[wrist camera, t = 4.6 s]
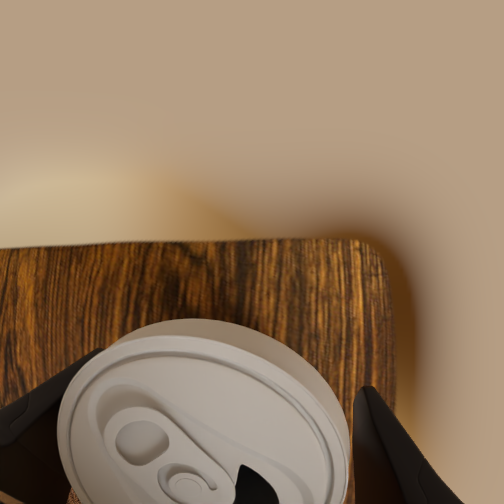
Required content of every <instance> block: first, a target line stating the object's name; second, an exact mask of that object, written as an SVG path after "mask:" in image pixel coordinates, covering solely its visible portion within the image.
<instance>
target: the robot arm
mask: <svg viewBox="0 0 504 504" xmlns="http://www.w3.org/2000/svg"><path fill="white" fill-rule="evenodd" d="M104 350H106V349H102V348H96V349H95V350H93V351H92V352H90V353H89V354H87V355H85V356H84V357H82V358H81V359H79V360H78V361H76V362H75V363H73V364H72V365H70V366H69V367H67V368H65V369H64V370H62V371H61V372H59V373H58V374H56V375H55V376H53V377H52V378H50V379H49V380H47V381H46V382H44V383H42V384H41V385H39V386H38V387H36V388H35V389H33V390H32V391H30V393H27V394H26V395H24V396H22V397H21V398H19V399H18V400H16V401H14V402H13V403H11V404H9V405H7V406H5V407H3V408H1V409H0V504H66V503H67V499H68V496H69V493H70V490H71V487H72V486H71V484H70V482H69V480H68V478H67V476H66V473H65V470H64V468H63V465H62V461H61V457H60V453H59V448H58V439H57V423H58V415H59V410H60V405H61V402H62V399H63V396H64V393H65V391H66V390H67V388H68V386H69V384H70V382H71V380H72V379H73V378H74V376H75V375H76V374H77V373H78V371H79V370H80V369H81V368H82V367H83V366H84V365H85V364H86V363H87V362H88V361H89V360H91V359H92V358H93V357H95V356H96V355H97V354H99V353H100V352H102V351H104ZM352 445H353V460H354V478H355V504H464V503H463V502H462V501H461V500H460V499H459V498H458V497H457V496H456V495H455V494H454V493H453V492H452V490H451V489H450V488H449V487H448V486H447V485H446V484H445V483H444V482H443V481H442V480H441V478H440V477H439V476H438V475H437V474H436V472H435V471H434V469H433V468H432V467H431V465H430V464H429V463H428V461H427V460H426V458H424V456H423V454H422V453H421V451H420V450H419V449H418V447H417V446H416V444H415V443H414V441H413V440H412V439H411V437H410V436H409V434H407V432H406V430H405V429H404V428H403V426H402V425H401V423H400V422H399V421H398V419H397V418H396V416H395V415H394V414H393V412H392V411H391V410H390V408H389V407H388V405H387V404H386V403H385V401H384V400H383V399H382V397H381V396H380V394H379V393H378V392H377V390H376V389H375V388H374V387H373V386H363V387H361V389H360V390H359V392H358V394H357V396H356V397H355V399H354V403H353V434H352Z"/></svg>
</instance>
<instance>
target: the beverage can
mask: <svg viewBox="0 0 504 504" xmlns="http://www.w3.org/2000/svg"><path fill="white" fill-rule="evenodd" d="M57 439H58V448H59V453H60V457H61V461H62V465H63V468H64V470H65V473H66V476H67V478H68V480H69V482H70V484H71V486H72V488H73V490H74V492H75V493H76V495H77V496H78V498H79V500H80V501H81V502H82V504H343V501H344V498H345V495H346V490H347V485H348V465H349V459H350V440H349V431H348V426H347V423H346V419H345V416H344V413H343V410H342V408H341V406H340V404H339V402H338V400H337V398H336V396H335V394H334V393H333V391H332V389H331V388H330V386H329V385H328V384H327V382H326V381H325V380H324V379H323V378H322V376H321V375H320V374H319V373H318V372H317V370H316V369H315V368H314V367H313V366H311V365H310V364H309V363H308V362H307V361H306V360H305V359H303V358H302V357H301V356H299V355H298V354H297V353H296V352H294V351H293V350H291V349H290V348H288V347H287V346H285V345H284V344H282V343H280V342H278V341H277V340H275V339H273V338H271V337H269V336H267V335H265V334H262V333H260V332H258V331H255V330H252V329H250V328H247V327H244V326H240V325H237V324H233V323H228V322H223V321H218V320H209V319H177V320H169V321H164V322H159V323H155V324H151V325H148V326H145V327H142V328H140V329H137V330H135V331H133V332H131V333H129V334H127V335H125V336H124V337H122V338H121V339H119V340H118V341H116V342H115V343H114V344H112V345H111V346H110V347H109V348H107V349H106V350H104V351H102V352H100V353H99V354H97V355H96V356H95V357H93V358H92V359H91V360H89V361H88V362H87V363H86V364H85V365H84V366H83V367H82V368H81V369H80V370H79V371H78V373H77V374H76V375H75V376H74V378H73V379H72V380H71V382H70V384H69V386H68V388H67V390H66V391H65V393H64V396H63V399H62V402H61V405H60V410H59V415H58V423H57Z"/></svg>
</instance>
